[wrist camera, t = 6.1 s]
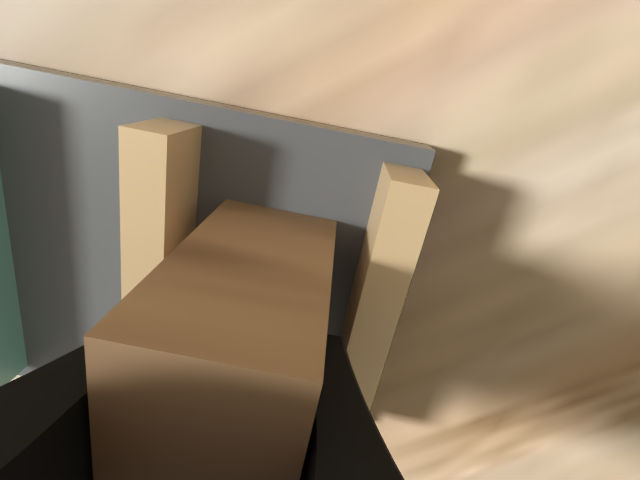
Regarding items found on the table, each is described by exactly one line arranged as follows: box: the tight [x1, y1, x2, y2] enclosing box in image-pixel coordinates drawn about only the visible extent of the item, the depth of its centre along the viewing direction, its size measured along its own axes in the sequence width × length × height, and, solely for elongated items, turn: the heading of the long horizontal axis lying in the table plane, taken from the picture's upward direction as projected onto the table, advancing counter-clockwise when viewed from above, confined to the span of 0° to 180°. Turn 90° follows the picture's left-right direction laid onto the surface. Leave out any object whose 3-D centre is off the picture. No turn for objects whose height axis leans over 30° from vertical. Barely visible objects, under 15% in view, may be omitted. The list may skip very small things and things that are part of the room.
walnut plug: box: [84, 199, 337, 480], centre depth 8 cm, size 5×3×6 cm, turn 170°
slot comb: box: [0, 59, 440, 410], centre depth 11 cm, size 10×18×3 cm, turn 80°
